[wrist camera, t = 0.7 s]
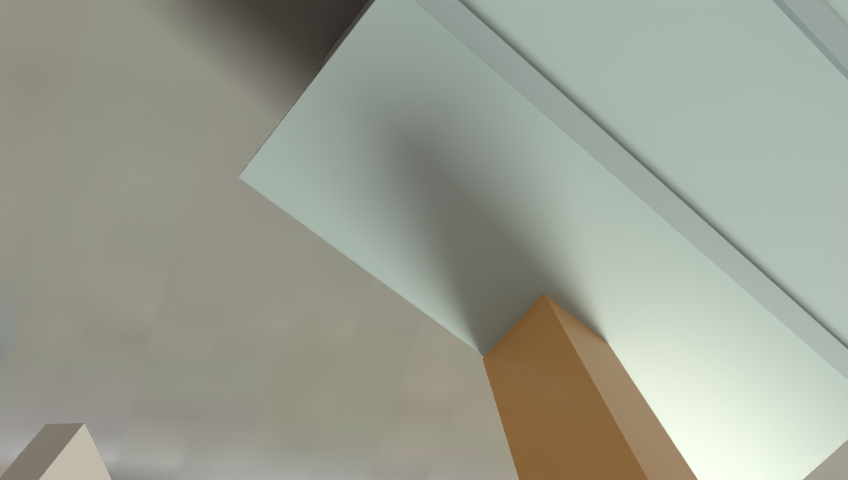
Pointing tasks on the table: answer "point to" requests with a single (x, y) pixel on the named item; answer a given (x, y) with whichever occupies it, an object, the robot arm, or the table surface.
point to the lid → (602, 217)
